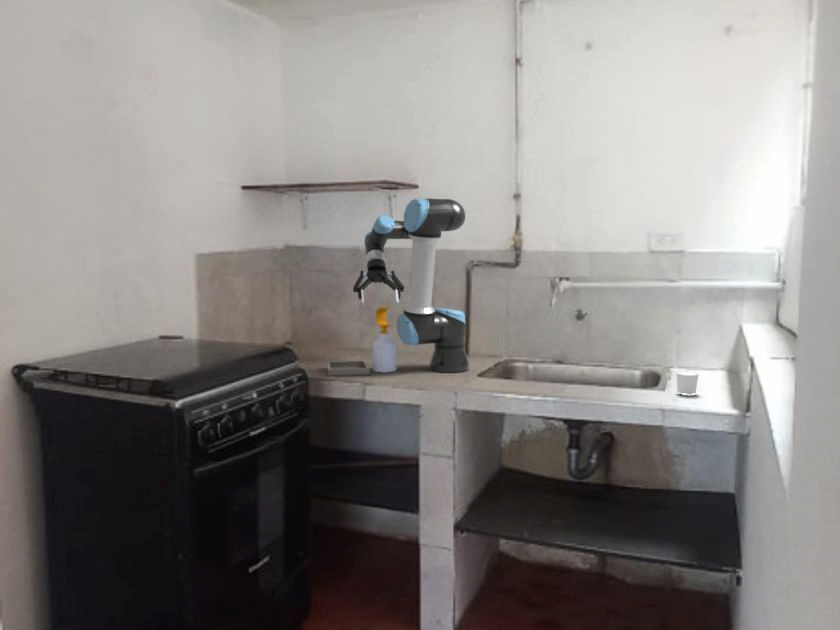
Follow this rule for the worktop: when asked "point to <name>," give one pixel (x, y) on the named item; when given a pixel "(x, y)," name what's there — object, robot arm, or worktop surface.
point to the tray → (347, 368)
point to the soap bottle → (383, 346)
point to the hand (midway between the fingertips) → (380, 304)
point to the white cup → (686, 382)
